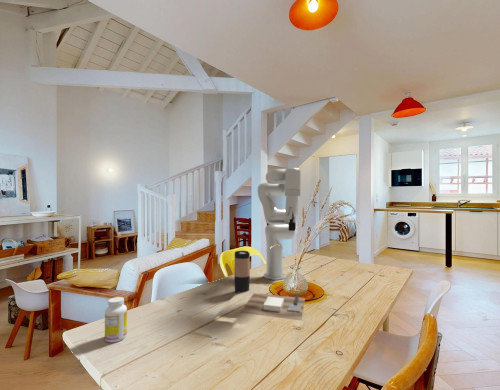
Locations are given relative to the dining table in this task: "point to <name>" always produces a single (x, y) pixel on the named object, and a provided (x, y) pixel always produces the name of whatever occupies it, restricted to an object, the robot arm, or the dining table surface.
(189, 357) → the dining table surface
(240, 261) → the travel mug
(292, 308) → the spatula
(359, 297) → the dining table surface
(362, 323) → the dining table surface
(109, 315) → the supplement bottle
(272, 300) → the tile
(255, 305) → the board
